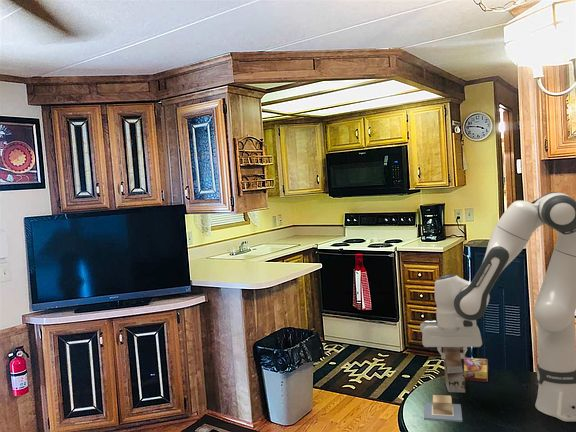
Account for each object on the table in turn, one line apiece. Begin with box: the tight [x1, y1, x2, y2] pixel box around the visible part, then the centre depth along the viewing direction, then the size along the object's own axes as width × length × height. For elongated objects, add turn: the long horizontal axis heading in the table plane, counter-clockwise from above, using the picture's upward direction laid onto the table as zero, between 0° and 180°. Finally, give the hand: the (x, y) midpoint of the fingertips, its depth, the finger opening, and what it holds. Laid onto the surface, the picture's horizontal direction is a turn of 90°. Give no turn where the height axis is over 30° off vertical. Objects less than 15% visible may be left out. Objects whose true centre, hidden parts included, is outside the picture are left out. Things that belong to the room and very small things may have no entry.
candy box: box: [464, 357, 489, 383], centre depth 195 cm, size 9×4×15 cm
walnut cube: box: [445, 348, 461, 366], centre depth 173 cm, size 5×5×5 cm
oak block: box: [432, 394, 453, 415], centre depth 165 cm, size 6×6×4 cm
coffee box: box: [442, 347, 466, 394], centre depth 184 cm, size 9×6×16 cm
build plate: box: [423, 401, 463, 423], centre depth 165 cm, size 12×12×1 cm
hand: (453, 358), depth 173 cm, fingers closed on walnut cube, 5 cm apart
